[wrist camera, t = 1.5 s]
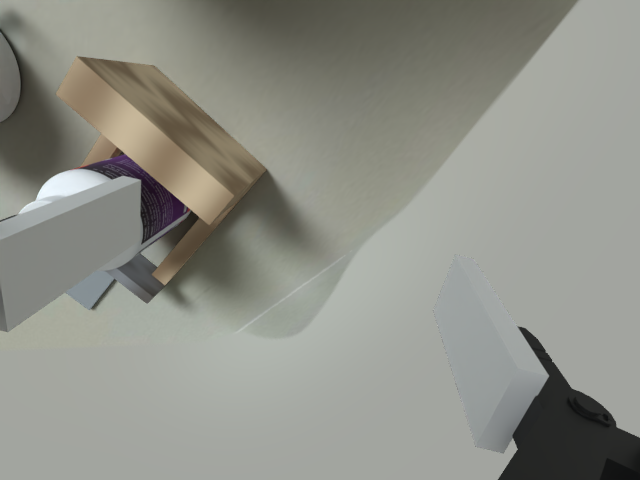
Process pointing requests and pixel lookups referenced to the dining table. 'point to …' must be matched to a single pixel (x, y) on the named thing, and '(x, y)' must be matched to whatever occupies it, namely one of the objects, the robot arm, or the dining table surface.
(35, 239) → the robot arm
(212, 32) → the dining table surface
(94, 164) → the pill bottle
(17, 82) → the mug
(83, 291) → the mat
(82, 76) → the wooden bottle holder
